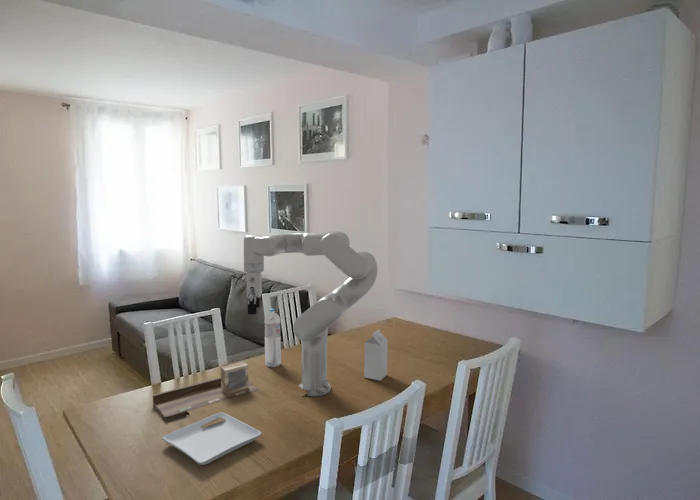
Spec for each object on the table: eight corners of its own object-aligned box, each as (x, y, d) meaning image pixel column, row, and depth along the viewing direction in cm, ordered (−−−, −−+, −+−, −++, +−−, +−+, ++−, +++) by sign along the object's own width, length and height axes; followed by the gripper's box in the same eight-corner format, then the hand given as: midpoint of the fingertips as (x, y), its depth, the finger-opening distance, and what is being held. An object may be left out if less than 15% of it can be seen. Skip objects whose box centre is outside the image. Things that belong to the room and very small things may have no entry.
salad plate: (221, 419, 149) (221, 409, 149) (263, 442, 136) (263, 431, 135) (160, 446, 133) (160, 435, 132) (201, 475, 119) (200, 463, 119)
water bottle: (272, 369, 191) (271, 312, 188) (261, 365, 195) (260, 309, 192) (284, 364, 197) (283, 308, 194) (273, 360, 201) (272, 306, 198)
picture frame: (248, 387, 169) (248, 364, 168) (226, 394, 164) (225, 370, 162) (243, 384, 172) (243, 361, 171) (221, 390, 167) (220, 367, 166)
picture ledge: (259, 393, 168) (259, 383, 167) (165, 421, 147) (165, 409, 146) (243, 381, 179) (242, 371, 178) (153, 405, 158) (152, 394, 157)
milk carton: (364, 377, 183) (364, 332, 181) (371, 371, 189) (372, 328, 187) (380, 381, 180) (380, 335, 177) (387, 375, 186) (387, 330, 184)
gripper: (261, 271, 164) (261, 317, 166) (265, 263, 181) (265, 305, 183) (240, 271, 163) (240, 316, 165) (246, 263, 180) (246, 305, 182)
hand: (253, 310), depth 174 cm, fingers open, 9 cm apart
